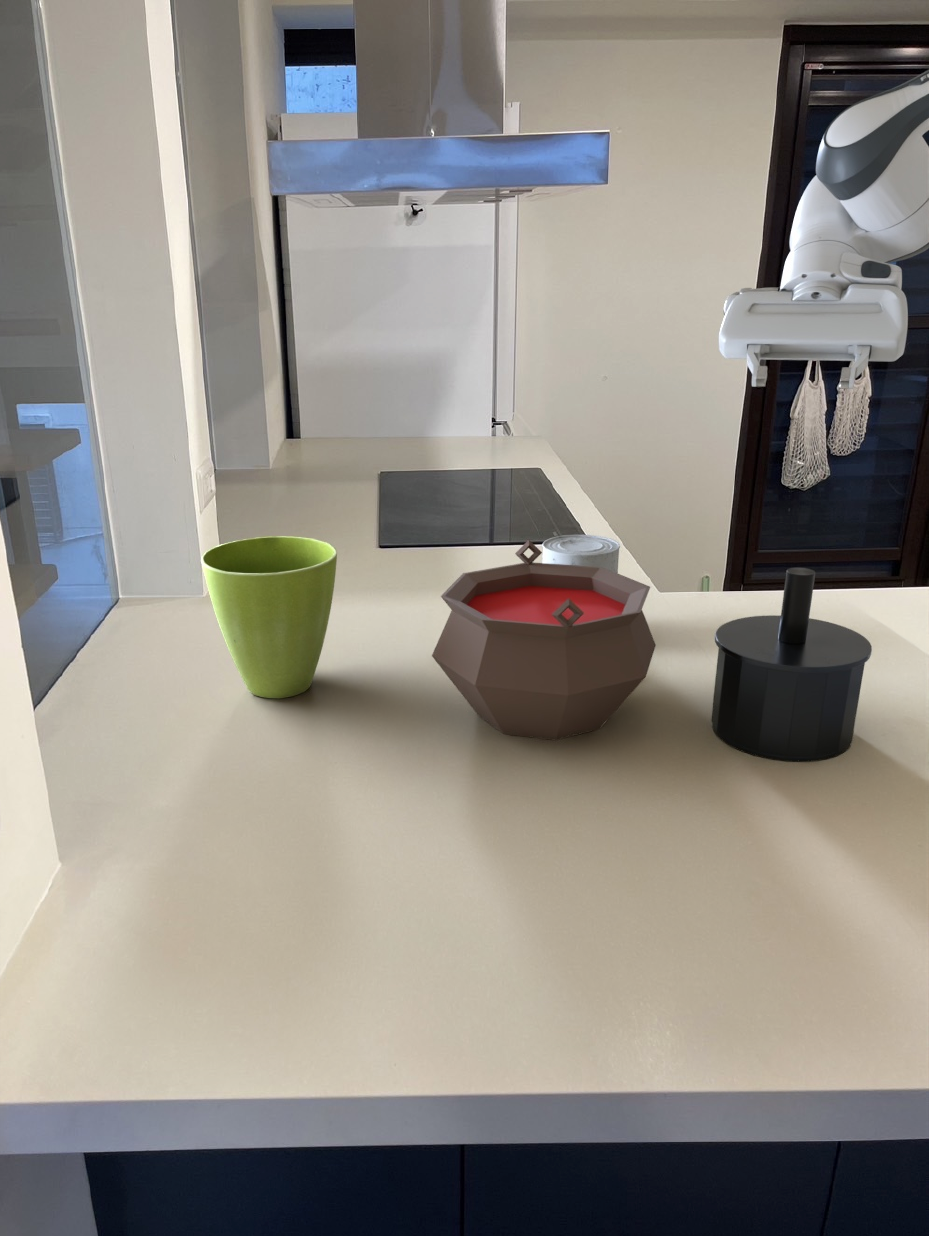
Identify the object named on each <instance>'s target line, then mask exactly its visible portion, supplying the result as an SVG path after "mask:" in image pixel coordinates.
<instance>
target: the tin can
mask: <svg viewBox="0 0 929 1236" xmlns="http://www.w3.org/2000/svg"><path fill="white" fill-rule="evenodd" d="M541 545H542V563H548V564H563V565H578V566H593V567H603V568H605V569H608V570H610V571H613V572H615V573H618V574H619V557H620V548H621V544H620V543H619V541H616V540H615V539H612V538H609V537H605V536H601V535H594V534H593V535H592V534H564V535H557V536H553V537H550V538H547V539H546V540H543V542H542V544H541Z"/></svg>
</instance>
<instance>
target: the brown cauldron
mask: <svg viewBox="0 0 929 1236" xmlns="http://www.w3.org/2000/svg"><path fill="white" fill-rule="evenodd" d="M527 550H530V551H531V552H532V554H531V555H530V556H529V557H528V556H527V555H526V554H525V553H526V551H527ZM542 554H543V551H541V550H540V549H539V548H538V547H537V546H536V545H535V544H534V542H532V541H531V540H530V539H528V540H527V541H526V542H525V543H524V544H523V545H522V546H521V547H519V549H517V551H516V552H515V553H514V555H515V556H516V557H518V558H519V559H520V560H521V561H522V562H520V563H515V564H508V565H503V566H497V567H491V568H485V569H480V570H473V571H468V572H463V573H462V574H460V575H459V577H457V579H456V580H455V581H454V582H453V583H452V584H451V585H450V586H449V587H448V588H447V589H446V590H445V591H444V592H443V593H442V594H441V595H440V598H442V600H443V601H444V603H445V604H446V605H447V606H448V607H449V609H451V611H450V613H449V616H448V618H447V620H446V622H445V624H444V627H443V629H442V631H441V634H440V636H439V638H438V640H437V642H436V645H435V647H434V649H433V652H432V654H431V657H432V658H433V659H434V661H435V663H437V665H438V666H439V667H440V669H441V670H442V671H443V673H444V674H445V675H446V676H447V678H448V679H449V680H450V682H451V683H452V684H453V685H454V686H455V688H456V689H457V691H459V693H460V695H462V697H463V699H465V701H466V702H467V703H468V705H469V706H470V707H471V708H472V710H473V711H474V712H475V714H476V715H477V716H479V717H480V718H481V719H482V720H484V721H485V722H486V723H488V724H490V725H491V726H492V727H493V728H495V729H496V730H498V731H499V732H500V733H502V734H503V735H510V736H516V737H517V736H519V737H526V738H533V739H541V740H542V739H544V740H551V741H559V740H561V739H565V738H569V737H573V736H578V735H582V734H585V733H589V732H592V731H593V732H594V731H597V730H600V729H601V728H602V727H603V726H604V724H606V722H607V721H608V720H609V719H610V718H611V717H612V716H613V715H614V713H616V711H617V710H618V709H619V708H620V707H621V706H622V705H623V703H624V702H625V701H626V700H627V699H628V698H629V696H631V695H632V693H633V692H634V691H635V690H636V689H637V688H638V686H639V685H640V684H641V683H642V682H644V680H645V679H646V678H647V676H648V675H647V674H648V671H649V668H650V665H651V662H652V660H653V655H654V652H655V649H656V646H657V644H656V642H655V638H654V636H653V634H652V632H651V629H650V627H649V624H648V621H647V619H646V616H645V613H644V611H643V607H644V605H645V603H646V600H647V598H648V594H649V592H650V589H651V586H650V585H648V584H645V583H642V582H639V581H638V580H635V579H633V578H630V577H628V576H625V575H622V574H620V573H619V572H618V573H615V572H613V571H610V570H608V569H605V568H603V567H593V566H578V565H563V564H548V563H543V562H535V560H536V559H538V557H539V556H541V555H542Z"/></svg>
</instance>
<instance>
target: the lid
mask: <svg viewBox="0 0 929 1236" xmlns="http://www.w3.org/2000/svg"><path fill="white" fill-rule="evenodd" d="M815 578H816V571H815V570H813V569H811V568H807V567H790V568H787V570H786V573H785V581H784V589H783V597H782V603H781V604H782V605H781V612H780V615H776V614H775V615H773V614H771V615H754V616H746V617H741V618H737V619H732V620H730V621H727V622H726V623H723V624H722V625H720V626H719V627H718V628H717V629H716V631H715V634H714V642H715V645H716V646H717V648H718V649H720V650H722V651H723V652H724V653H726V654H727V655H729V656H731V657H733V658H735V659H738V660H740V661H743V662H746V663H749V664H752V665H756V666H759V667H764V668H769V669H774V670H780V671H788V672H800V673H827V672H837V671H843V670H848V669H852V668H855V667H858V666H860V665H862V664H864V663H865V664H866V662H868V661H869V659H870V658H871V656H872V652H873V646H872V643H871V642H870V641H869V640H868V638H866V637H865V636H864V635H862V634H860V633H859V632H857V631H855V630H854V629H851V628H848V627H846V626H844V625H840V624H837V623H833V622H829V621H826V620H820V619H816V618H810V613H811V607H812V600H813V592H814V585H815Z"/></svg>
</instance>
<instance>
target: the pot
mask: <svg viewBox="0 0 929 1236" xmlns="http://www.w3.org/2000/svg"><path fill="white" fill-rule="evenodd" d="M717 652H718V653H717V660H716V670H715V679H714V690H713V698H712V706H711V707H712V708H711V717H710V718H711V719H710V721H711V729H712V731H713V733H714V734H715V736H716V737H717V738H718V739H719V740H721V741H722V742H723V743H725V744H727V745H728V746H729V747H732V748H733V749H735V750H738V751H740V752H743V753H746V754H749V755H752V756H755V757H759V758H764V759H769V760H774V761H782V762H796V763H797V762H798V763H803V762H806V763H807V762H818V761H824V760H828V759H832V758H836V757H838V756H840V755H842V754H844V753H845V752H846V751H848V750H849V749H850V747H851V745H852V743H853V736H854V731H855V725H856V724H855V723H856V719H857V712H858V707H859V699H860V694H861V689H862V684H863V683H862V682H863V676H864V670H865V666H866V665H865V664H866V662H865V663H864V664H862V665H860V666H858V667H855V668H852V669H848V670H843V671H837V672H827V673H800V672H788V671H780V670H774V669H769V668H764V667H759V666H756V665H752V664H749V663H746V662H743V661H740V660H738V659H735V658H733V657H731V656H729V655H727V654H726V653H724V652H723V651H722V650H720V649H719V648H718V651H717Z"/></svg>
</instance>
